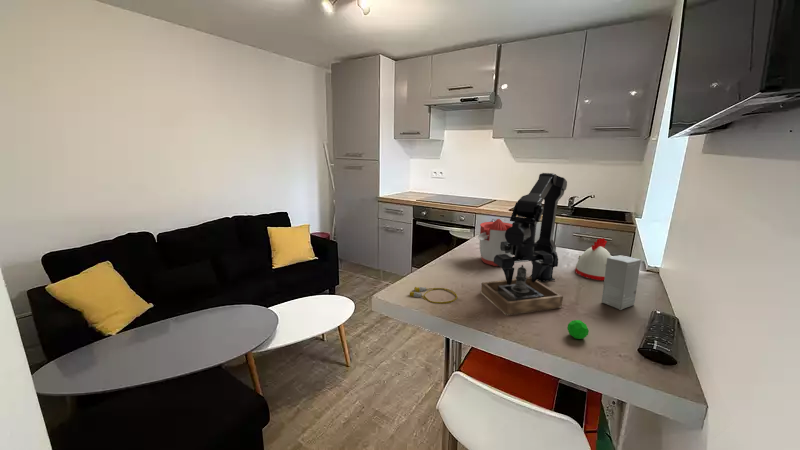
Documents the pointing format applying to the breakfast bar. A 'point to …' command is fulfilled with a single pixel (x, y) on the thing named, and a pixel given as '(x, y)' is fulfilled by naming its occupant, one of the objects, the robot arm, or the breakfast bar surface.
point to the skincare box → (620, 281)
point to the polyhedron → (577, 329)
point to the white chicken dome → (593, 261)
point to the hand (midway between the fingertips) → (521, 283)
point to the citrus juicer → (492, 240)
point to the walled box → (522, 306)
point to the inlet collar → (508, 295)
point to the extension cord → (421, 289)
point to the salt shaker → (520, 283)
